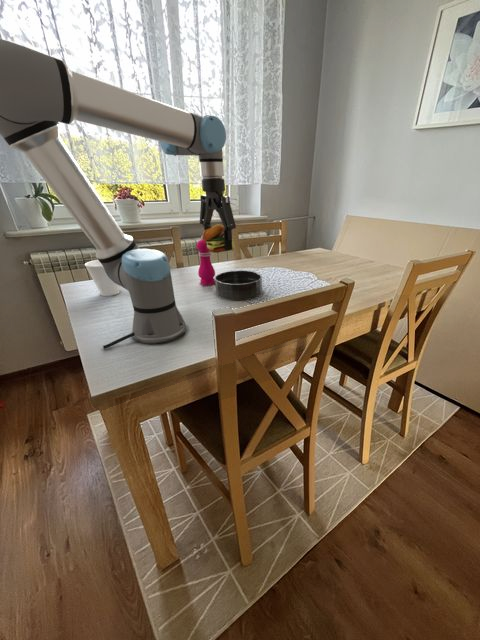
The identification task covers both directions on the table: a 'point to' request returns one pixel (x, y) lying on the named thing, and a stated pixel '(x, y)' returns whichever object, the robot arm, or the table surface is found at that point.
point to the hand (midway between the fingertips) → (218, 247)
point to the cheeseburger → (216, 239)
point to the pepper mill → (205, 264)
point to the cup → (101, 278)
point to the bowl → (238, 285)
